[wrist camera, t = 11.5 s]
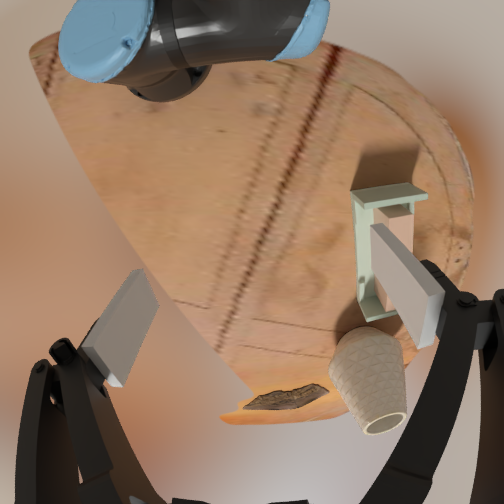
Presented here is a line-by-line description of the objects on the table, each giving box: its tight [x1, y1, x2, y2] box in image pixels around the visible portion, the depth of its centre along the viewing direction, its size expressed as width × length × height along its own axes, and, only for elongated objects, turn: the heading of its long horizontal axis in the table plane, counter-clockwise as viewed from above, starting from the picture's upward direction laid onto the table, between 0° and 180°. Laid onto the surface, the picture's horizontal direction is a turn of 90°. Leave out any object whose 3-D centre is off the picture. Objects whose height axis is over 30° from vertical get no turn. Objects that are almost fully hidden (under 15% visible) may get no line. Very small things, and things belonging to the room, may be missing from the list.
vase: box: [328, 326, 407, 435], centre depth 50 cm, size 17×17×23 cm
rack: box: [350, 182, 428, 322], centre depth 46 cm, size 23×12×7 cm, turn 13°
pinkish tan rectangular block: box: [373, 204, 414, 312], centre depth 45 cm, size 18×4×7 cm, turn 12°
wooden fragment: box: [243, 384, 329, 410], centre depth 71 cm, size 26×11×1 cm, turn 108°
